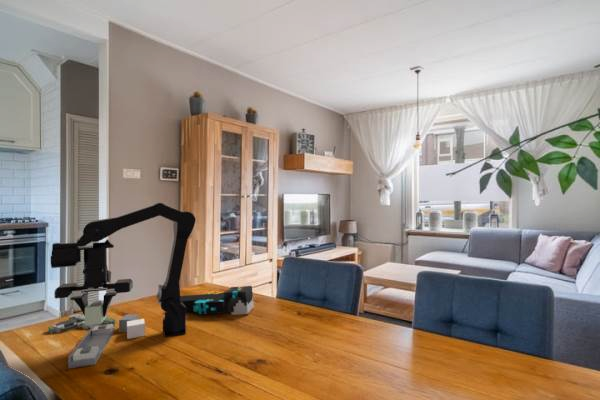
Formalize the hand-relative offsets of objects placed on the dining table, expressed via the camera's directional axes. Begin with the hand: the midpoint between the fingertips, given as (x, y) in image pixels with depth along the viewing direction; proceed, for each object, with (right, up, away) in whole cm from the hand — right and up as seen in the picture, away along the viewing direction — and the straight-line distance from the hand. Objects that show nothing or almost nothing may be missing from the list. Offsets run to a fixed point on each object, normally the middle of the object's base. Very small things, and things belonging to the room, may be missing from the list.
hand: (96, 317), depth 96 cm
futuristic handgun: (-14, -10, +16) cm, 23 cm away
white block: (+2, -9, +14) cm, 17 cm away
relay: (+7, -9, +10) cm, 15 cm away
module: (0, -1, 0) cm, 1 cm away
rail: (-1, -9, 0) cm, 9 cm away
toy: (+25, -9, +32) cm, 42 cm away
